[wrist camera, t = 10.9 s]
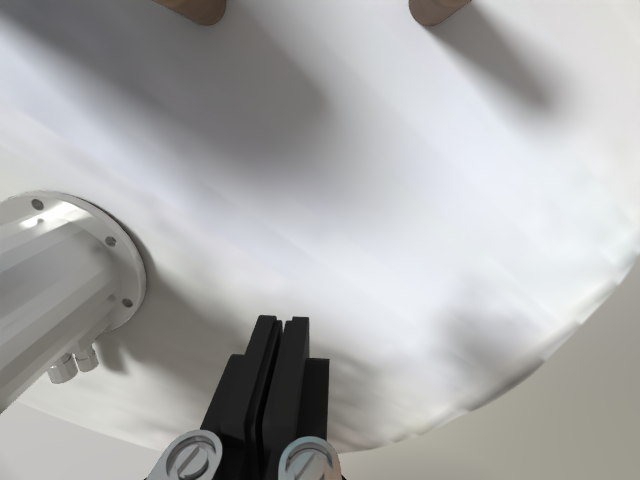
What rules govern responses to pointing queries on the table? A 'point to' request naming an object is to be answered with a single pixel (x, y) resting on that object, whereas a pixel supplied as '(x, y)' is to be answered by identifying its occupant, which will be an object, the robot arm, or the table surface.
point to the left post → (197, 9)
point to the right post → (434, 10)
